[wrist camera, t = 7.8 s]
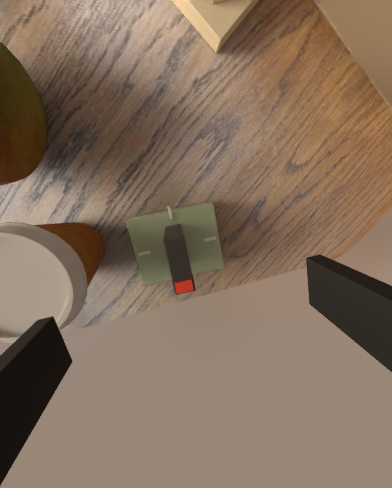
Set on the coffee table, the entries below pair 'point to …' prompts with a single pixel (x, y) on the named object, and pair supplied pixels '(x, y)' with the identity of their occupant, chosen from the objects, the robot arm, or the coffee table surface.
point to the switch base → (215, 17)
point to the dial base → (196, 237)
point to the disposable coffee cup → (44, 273)
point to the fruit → (19, 121)
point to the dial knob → (178, 259)
